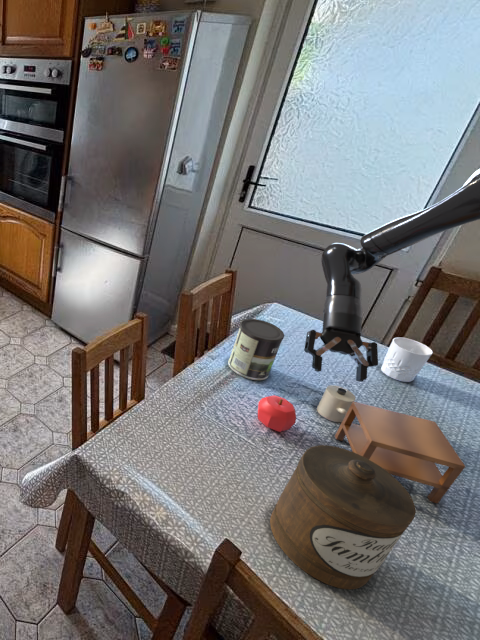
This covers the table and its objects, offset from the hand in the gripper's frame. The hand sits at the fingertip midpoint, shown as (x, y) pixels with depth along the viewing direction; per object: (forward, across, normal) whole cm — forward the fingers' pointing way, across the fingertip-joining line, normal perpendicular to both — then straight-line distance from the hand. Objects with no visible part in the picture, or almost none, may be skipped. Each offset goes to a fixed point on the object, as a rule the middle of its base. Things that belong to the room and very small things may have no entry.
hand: (338, 376), depth 105 cm
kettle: (+10, 0, +2) cm, 11 cm away
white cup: (-9, +21, +22) cm, 32 cm away
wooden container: (+38, -11, -25) cm, 47 cm away
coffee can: (+2, -17, +11) cm, 20 cm away
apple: (+17, -14, -4) cm, 22 cm away
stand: (+19, +6, -7) cm, 21 cm away
